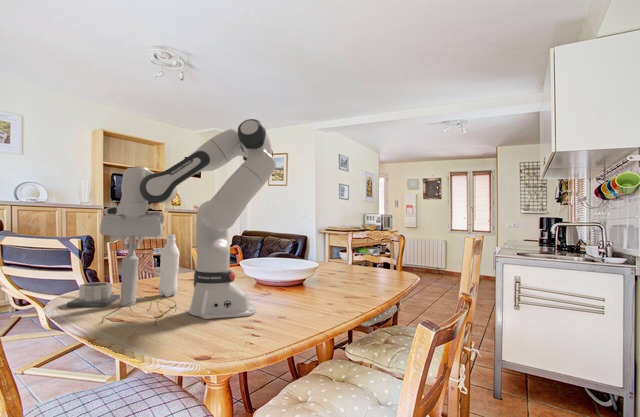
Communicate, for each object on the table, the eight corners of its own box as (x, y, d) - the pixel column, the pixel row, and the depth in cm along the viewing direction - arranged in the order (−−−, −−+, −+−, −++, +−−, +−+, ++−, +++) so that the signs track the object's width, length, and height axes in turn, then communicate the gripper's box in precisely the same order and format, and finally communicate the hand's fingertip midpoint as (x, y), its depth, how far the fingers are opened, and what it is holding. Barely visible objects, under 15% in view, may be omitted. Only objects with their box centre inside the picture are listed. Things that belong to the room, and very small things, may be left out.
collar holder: (119, 298, 124) (120, 281, 124) (105, 306, 112) (106, 288, 113) (84, 298, 122) (86, 281, 122) (66, 307, 110) (67, 287, 110)
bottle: (126, 307, 113) (131, 235, 114) (115, 305, 115) (120, 235, 116) (139, 303, 118) (143, 235, 119) (128, 302, 120) (133, 234, 121)
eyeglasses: (177, 313, 110) (178, 298, 110) (155, 327, 95) (156, 310, 95) (131, 311, 110) (132, 296, 110) (101, 325, 95) (102, 308, 96)
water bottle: (161, 293, 135) (165, 233, 136) (179, 293, 136) (183, 234, 137) (155, 297, 128) (158, 234, 129) (173, 297, 129) (177, 235, 130)
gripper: (166, 212, 123) (164, 248, 122) (107, 209, 119) (104, 247, 119) (161, 211, 117) (159, 250, 116) (99, 209, 113) (96, 248, 112)
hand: (131, 248), depth 117 cm, fingers closed on bottle, 2 cm apart
